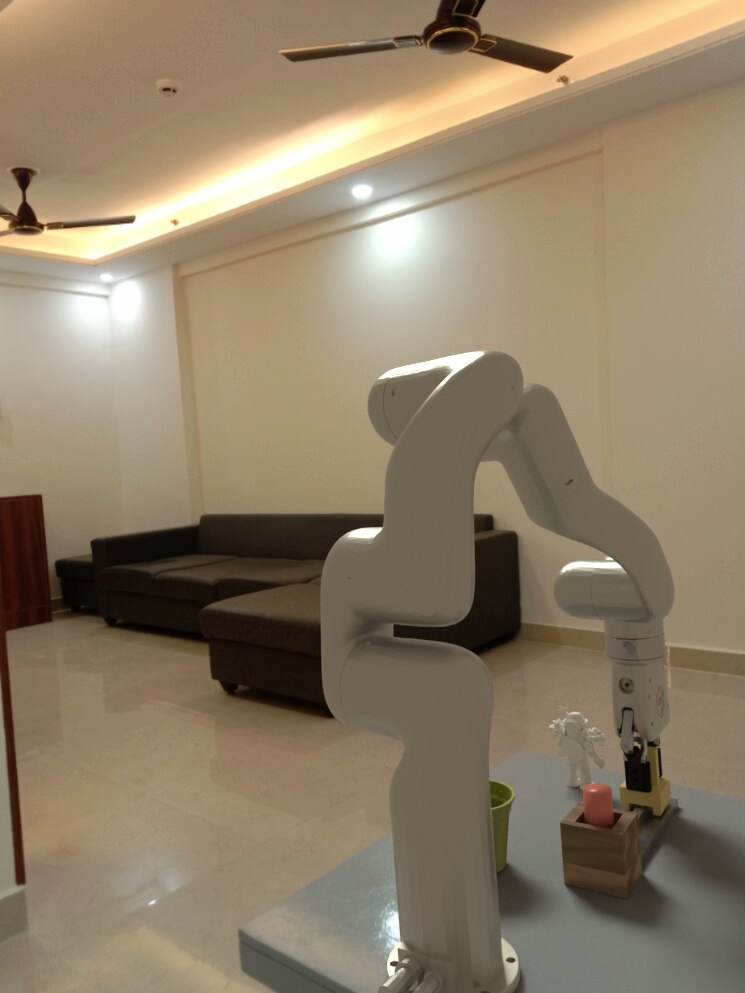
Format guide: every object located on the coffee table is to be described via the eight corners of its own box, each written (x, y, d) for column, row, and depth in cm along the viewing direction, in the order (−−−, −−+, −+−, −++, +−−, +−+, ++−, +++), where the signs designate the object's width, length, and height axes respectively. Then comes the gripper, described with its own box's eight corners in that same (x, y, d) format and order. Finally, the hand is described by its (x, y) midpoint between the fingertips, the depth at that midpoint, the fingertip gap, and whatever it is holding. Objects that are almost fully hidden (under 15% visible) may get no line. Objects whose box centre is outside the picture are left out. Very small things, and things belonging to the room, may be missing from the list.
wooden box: (626, 898, 86) (622, 834, 85) (564, 883, 89) (559, 822, 89) (641, 873, 90) (637, 812, 90) (582, 860, 94) (578, 802, 94)
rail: (638, 870, 91) (636, 836, 91) (587, 859, 95) (585, 826, 94) (678, 806, 107) (676, 777, 107) (633, 799, 110) (631, 770, 110)
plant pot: (496, 892, 89) (491, 816, 89) (426, 872, 95) (421, 800, 94) (533, 857, 96) (528, 786, 96) (466, 840, 102) (461, 773, 102)
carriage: (661, 816, 102) (657, 756, 101) (621, 809, 104) (617, 750, 104) (671, 801, 106) (667, 743, 106) (632, 794, 109) (628, 738, 108)
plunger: (609, 841, 88) (606, 796, 88) (581, 835, 89) (578, 792, 89) (618, 829, 90) (615, 786, 90) (590, 824, 92) (588, 781, 92)
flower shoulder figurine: (548, 782, 118) (542, 703, 118) (564, 774, 121) (559, 697, 120) (599, 798, 111) (593, 714, 111) (615, 790, 114) (609, 707, 113)
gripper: (646, 664, 95) (657, 813, 96) (679, 634, 109) (688, 765, 110) (585, 660, 100) (596, 803, 100) (625, 632, 113) (634, 757, 114)
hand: (644, 781), depth 105 cm, fingers open, 4 cm apart
